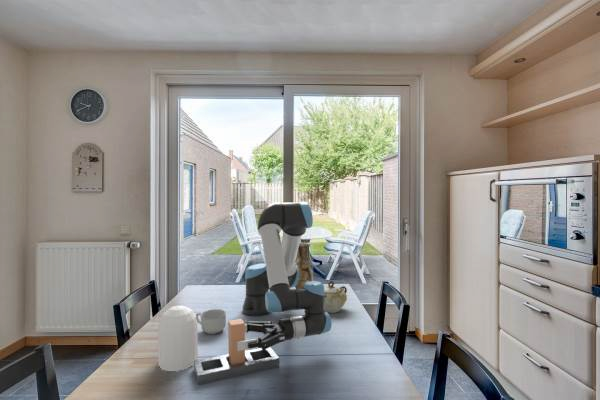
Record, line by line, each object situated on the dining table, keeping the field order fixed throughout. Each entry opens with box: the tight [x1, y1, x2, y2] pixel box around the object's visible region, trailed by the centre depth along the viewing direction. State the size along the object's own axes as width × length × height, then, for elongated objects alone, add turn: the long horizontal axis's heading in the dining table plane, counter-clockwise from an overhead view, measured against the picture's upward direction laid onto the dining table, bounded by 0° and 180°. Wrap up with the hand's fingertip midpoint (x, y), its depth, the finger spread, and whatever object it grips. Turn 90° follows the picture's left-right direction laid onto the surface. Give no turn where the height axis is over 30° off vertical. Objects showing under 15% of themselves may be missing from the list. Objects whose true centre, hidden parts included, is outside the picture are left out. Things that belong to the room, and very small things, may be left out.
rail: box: [193, 346, 280, 386], centre depth 119 cm, size 10×27×3 cm, turn 114°
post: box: [227, 318, 246, 366], centre depth 119 cm, size 5×5×16 cm
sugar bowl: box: [324, 280, 348, 314], centre depth 176 cm, size 20×15×15 cm
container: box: [157, 305, 199, 372], centre depth 123 cm, size 14×13×20 cm
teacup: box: [195, 308, 227, 335], centre depth 151 cm, size 14×11×8 cm
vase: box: [294, 241, 313, 289], centre depth 207 cm, size 10×11×30 cm
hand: (232, 338), depth 118 cm, fingers open, 13 cm apart
